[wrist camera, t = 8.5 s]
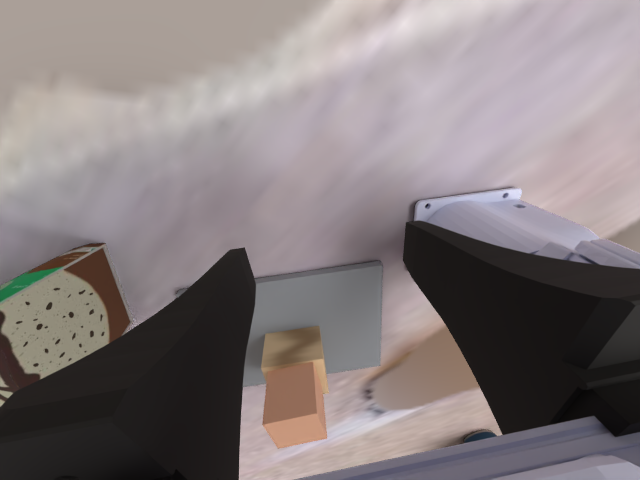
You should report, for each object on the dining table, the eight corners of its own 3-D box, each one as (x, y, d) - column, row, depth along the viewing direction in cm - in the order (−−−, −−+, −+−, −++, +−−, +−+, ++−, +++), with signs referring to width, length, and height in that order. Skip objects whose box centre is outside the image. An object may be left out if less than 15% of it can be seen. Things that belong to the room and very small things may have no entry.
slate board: (380, 260, 24) (382, 265, 23) (378, 360, 32) (380, 365, 31) (179, 289, 24) (175, 295, 23) (227, 383, 31) (226, 389, 31)
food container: (13, 223, 19) (-223, 320, 10) (99, 227, 20) (-53, 320, 11) (72, 331, 25) (-47, 452, 16) (137, 331, 26) (56, 446, 17)
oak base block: (319, 325, 27) (323, 358, 23) (324, 359, 30) (328, 393, 26) (265, 333, 26) (260, 368, 23) (276, 366, 29) (273, 401, 26)
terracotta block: (313, 361, 23) (316, 413, 19) (322, 387, 25) (327, 438, 22) (267, 371, 23) (262, 424, 19) (280, 396, 26) (278, 448, 22)
